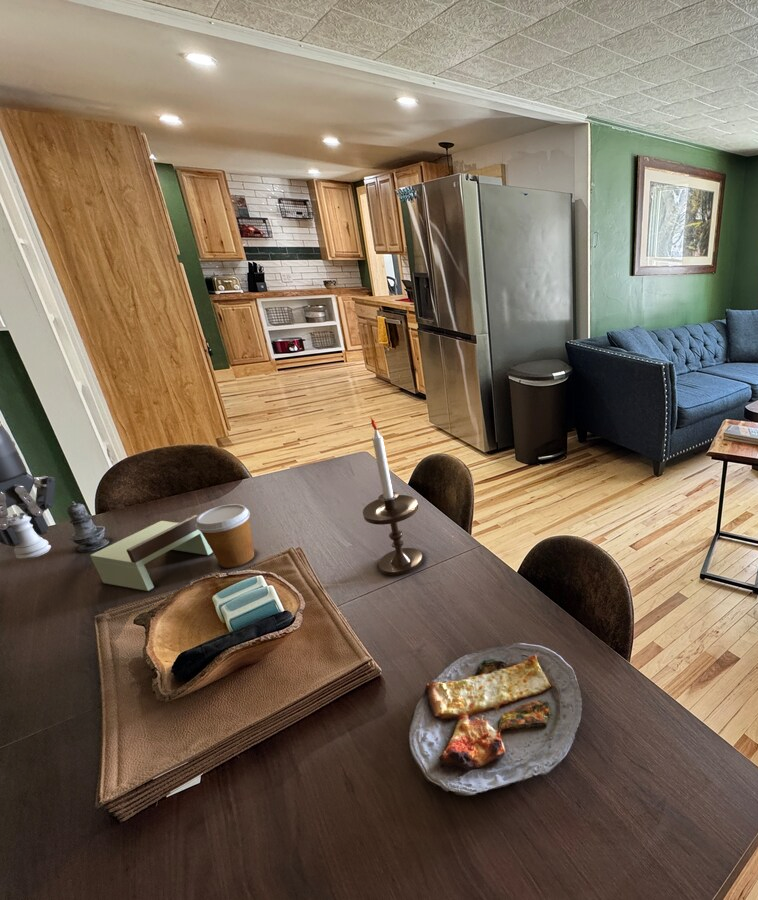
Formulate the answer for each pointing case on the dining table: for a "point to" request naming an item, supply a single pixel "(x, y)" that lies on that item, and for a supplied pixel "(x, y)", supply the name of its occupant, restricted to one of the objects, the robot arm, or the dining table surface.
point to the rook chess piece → (27, 537)
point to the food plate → (495, 718)
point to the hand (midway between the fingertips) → (27, 538)
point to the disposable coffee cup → (228, 533)
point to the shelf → (147, 552)
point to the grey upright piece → (85, 529)
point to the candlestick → (392, 516)
